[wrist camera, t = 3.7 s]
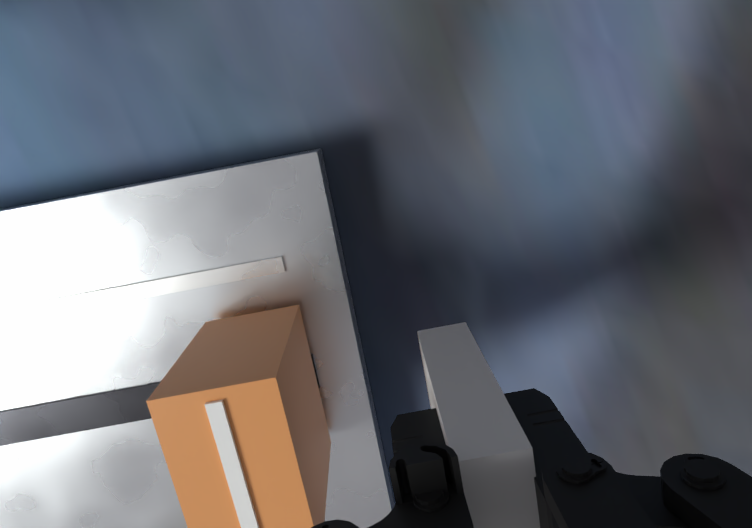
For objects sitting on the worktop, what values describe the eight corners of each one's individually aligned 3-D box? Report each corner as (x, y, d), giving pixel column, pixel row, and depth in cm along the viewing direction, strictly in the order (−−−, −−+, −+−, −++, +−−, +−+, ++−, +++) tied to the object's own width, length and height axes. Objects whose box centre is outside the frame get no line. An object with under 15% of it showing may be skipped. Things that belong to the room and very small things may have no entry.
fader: (298, 304, 17) (275, 379, 12) (331, 441, 18) (321, 559, 13) (205, 321, 17) (144, 403, 12) (244, 457, 18) (202, 580, 14)
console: (321, 148, 18) (316, 151, 16) (431, 683, 24) (438, 735, 22) (-112, 230, 18) (-170, 244, 16) (106, 740, 25) (84, 796, 23)
